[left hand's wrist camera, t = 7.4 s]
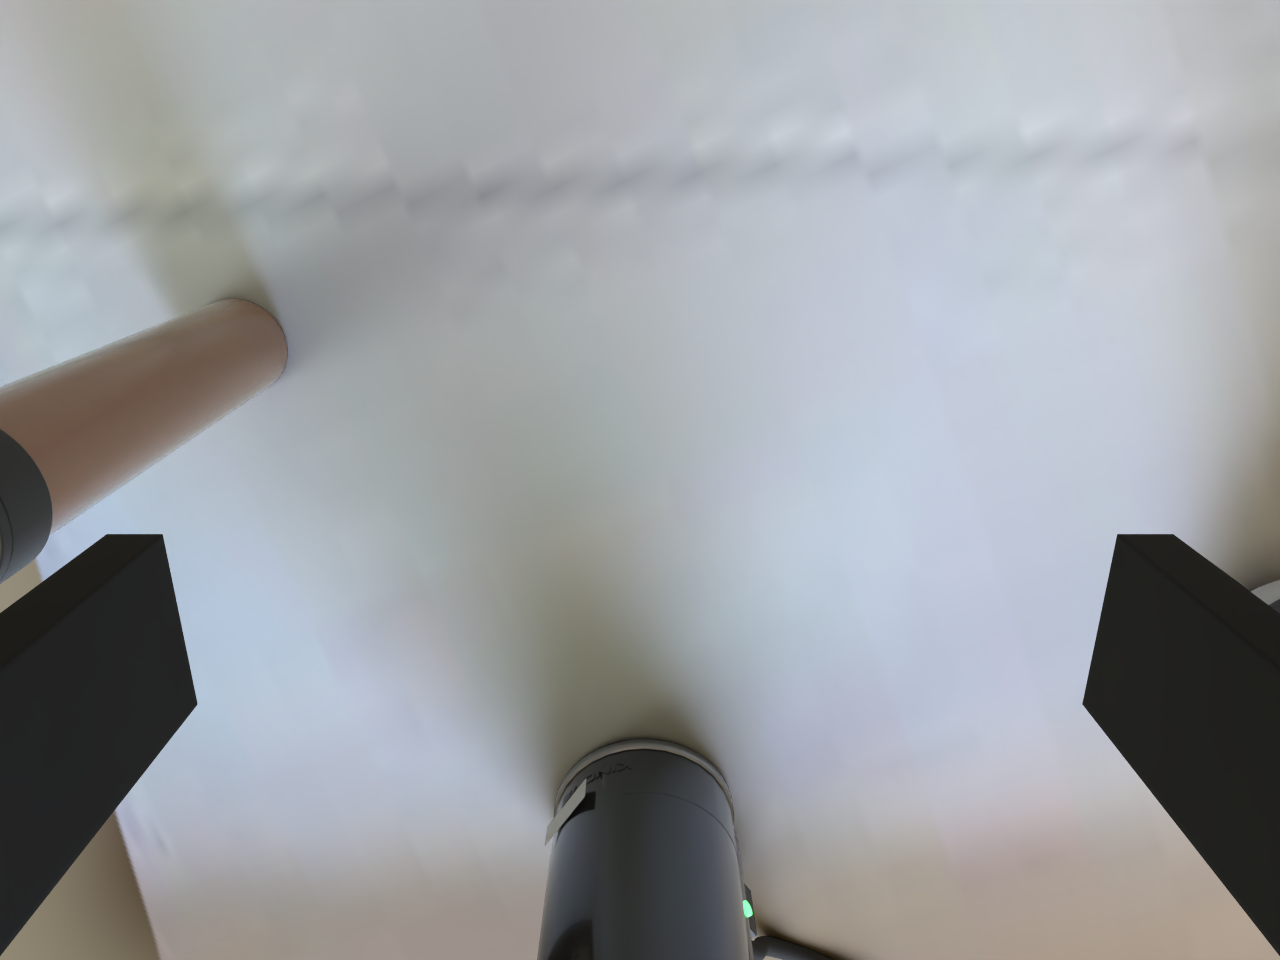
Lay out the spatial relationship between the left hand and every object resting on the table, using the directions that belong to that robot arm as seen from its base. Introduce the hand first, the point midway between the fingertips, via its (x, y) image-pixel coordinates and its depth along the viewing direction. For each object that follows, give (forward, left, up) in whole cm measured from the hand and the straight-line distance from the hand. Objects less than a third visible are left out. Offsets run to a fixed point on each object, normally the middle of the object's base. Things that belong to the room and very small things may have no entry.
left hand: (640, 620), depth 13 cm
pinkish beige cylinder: (+7, -16, -27) cm, 32 cm away
